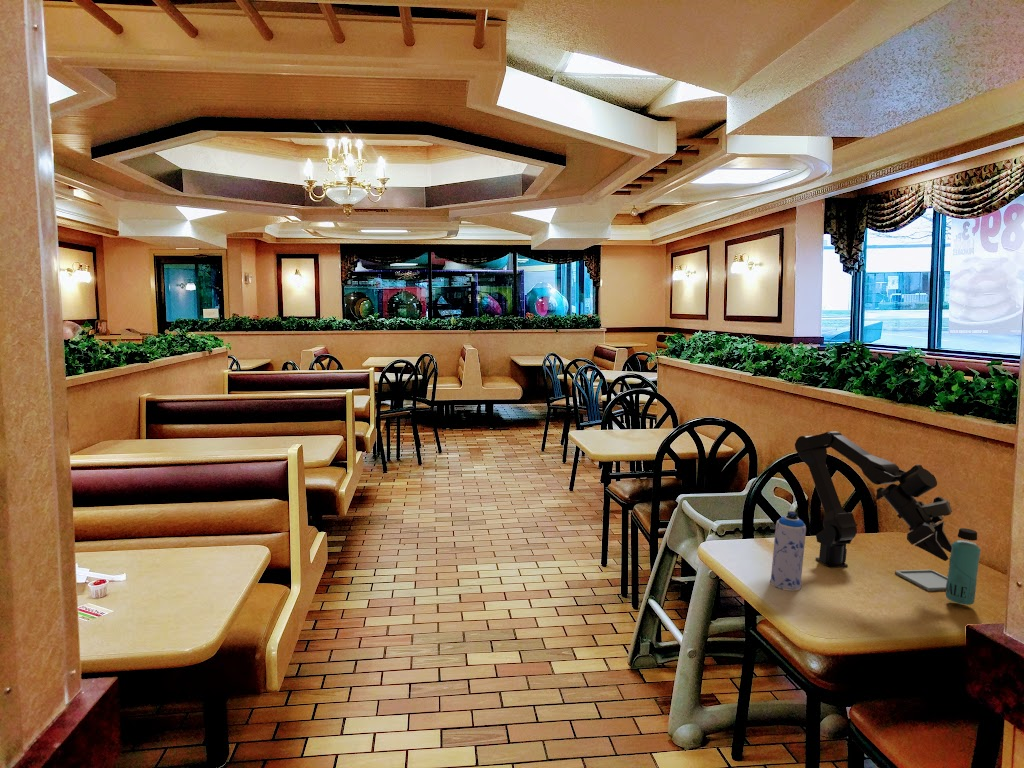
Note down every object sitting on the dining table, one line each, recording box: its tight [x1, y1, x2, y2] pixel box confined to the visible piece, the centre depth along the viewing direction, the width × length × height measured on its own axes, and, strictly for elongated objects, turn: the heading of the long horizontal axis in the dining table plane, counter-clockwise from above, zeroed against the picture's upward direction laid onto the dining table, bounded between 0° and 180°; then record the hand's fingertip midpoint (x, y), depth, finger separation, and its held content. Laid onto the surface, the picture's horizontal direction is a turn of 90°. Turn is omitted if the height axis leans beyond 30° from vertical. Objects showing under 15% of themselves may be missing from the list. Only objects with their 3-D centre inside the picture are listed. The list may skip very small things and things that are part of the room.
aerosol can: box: [769, 510, 807, 592], centre depth 182 cm, size 8×8×20 cm
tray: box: [894, 569, 948, 592], centre depth 191 cm, size 12×12×1 cm
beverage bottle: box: [944, 527, 982, 606], centre depth 174 cm, size 6×7×20 cm
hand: (949, 555), depth 176 cm, fingers open, 9 cm apart
